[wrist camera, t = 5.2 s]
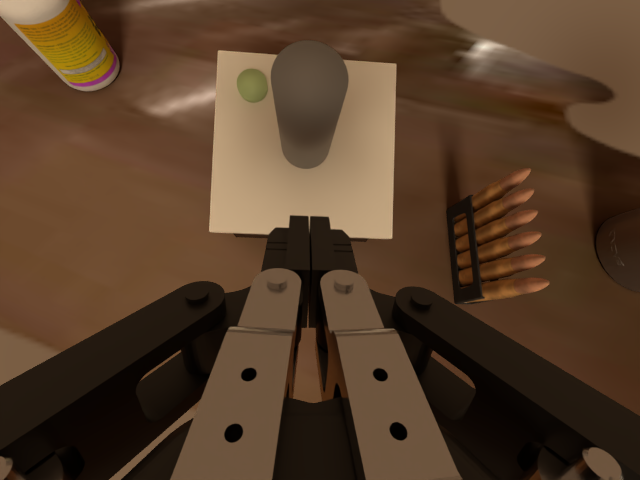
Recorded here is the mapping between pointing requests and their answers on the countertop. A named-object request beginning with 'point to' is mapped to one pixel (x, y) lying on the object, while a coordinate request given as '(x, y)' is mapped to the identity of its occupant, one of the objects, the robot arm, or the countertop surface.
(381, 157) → the joystick
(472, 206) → the ammunition clip
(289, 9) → the countertop surface
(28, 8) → the supplement bottle
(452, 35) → the countertop surface
